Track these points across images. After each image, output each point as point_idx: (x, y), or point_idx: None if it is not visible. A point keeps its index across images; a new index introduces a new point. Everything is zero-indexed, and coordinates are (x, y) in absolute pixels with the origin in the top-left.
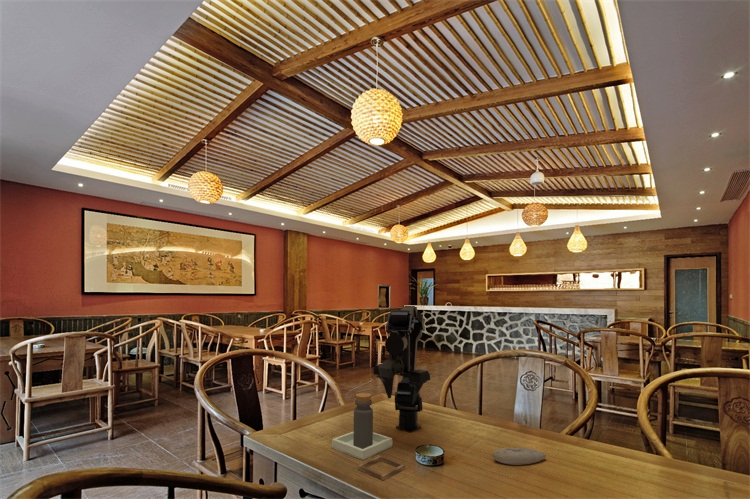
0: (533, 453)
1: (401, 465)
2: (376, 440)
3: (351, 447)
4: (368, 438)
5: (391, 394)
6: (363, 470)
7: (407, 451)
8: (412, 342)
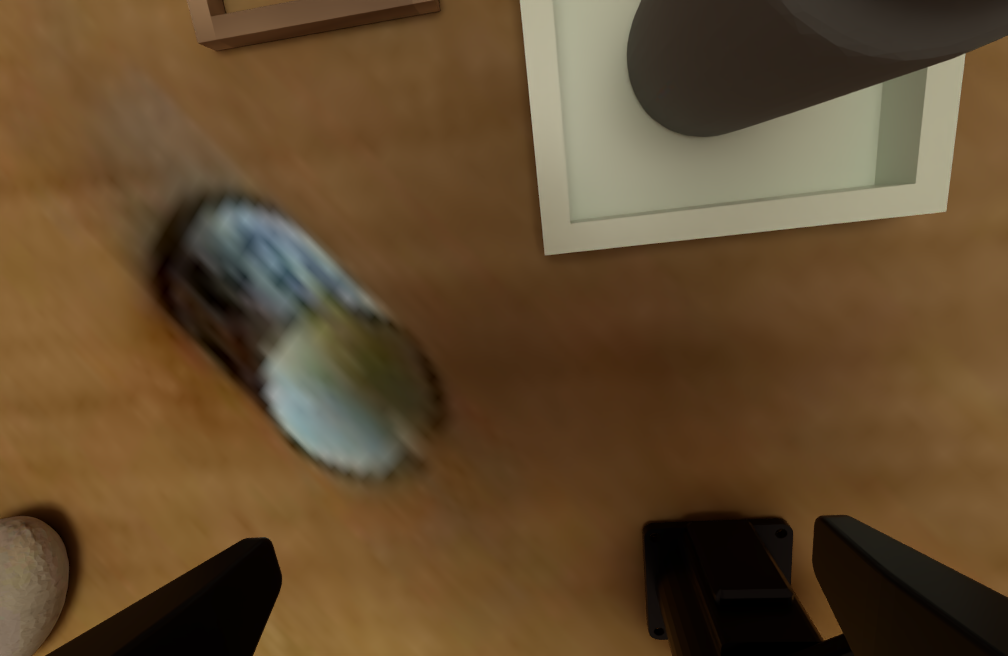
0: None
1: (203, 10)
2: (692, 206)
3: None
4: (641, 9)
5: (847, 637)
6: None
7: (421, 274)
8: None
